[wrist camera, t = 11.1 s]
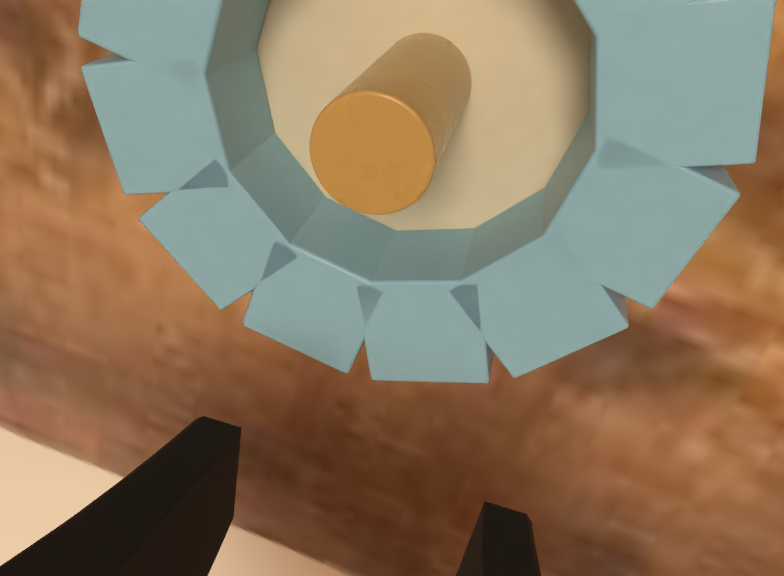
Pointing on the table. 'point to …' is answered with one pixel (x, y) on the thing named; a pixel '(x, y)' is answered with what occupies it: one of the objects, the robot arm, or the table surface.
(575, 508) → the table surface
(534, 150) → the peg stand
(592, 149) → the ring
